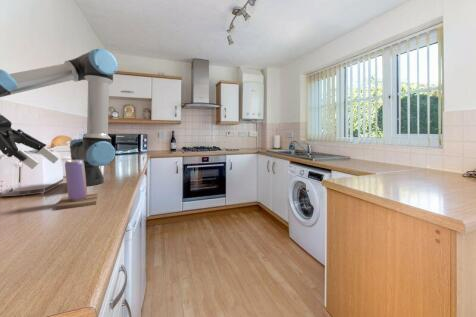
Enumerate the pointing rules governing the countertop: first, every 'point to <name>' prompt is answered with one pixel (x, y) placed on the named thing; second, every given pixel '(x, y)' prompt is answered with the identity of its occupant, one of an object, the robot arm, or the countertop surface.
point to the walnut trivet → (77, 202)
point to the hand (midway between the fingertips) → (46, 163)
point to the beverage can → (76, 180)
